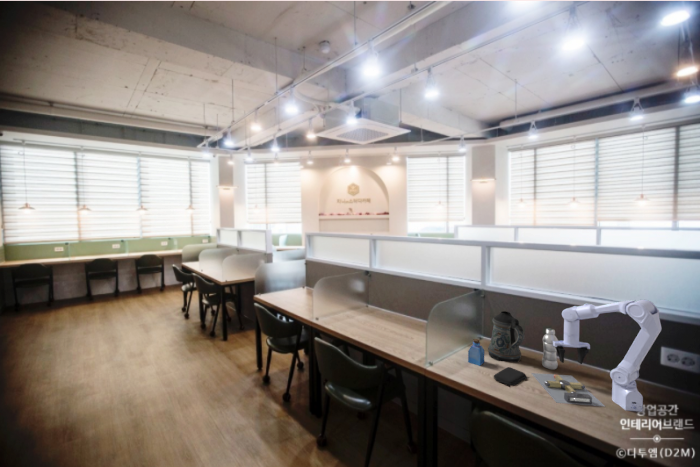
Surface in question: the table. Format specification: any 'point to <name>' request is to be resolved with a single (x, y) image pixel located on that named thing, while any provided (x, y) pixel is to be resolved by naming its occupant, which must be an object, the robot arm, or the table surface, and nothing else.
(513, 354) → the beer stein
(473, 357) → the perfume bottle
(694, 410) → the table surface
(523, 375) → the carrying case or bag
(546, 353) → the plastic bottle
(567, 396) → the level window
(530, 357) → the table surface
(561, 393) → the level board
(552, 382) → the cam capstan
